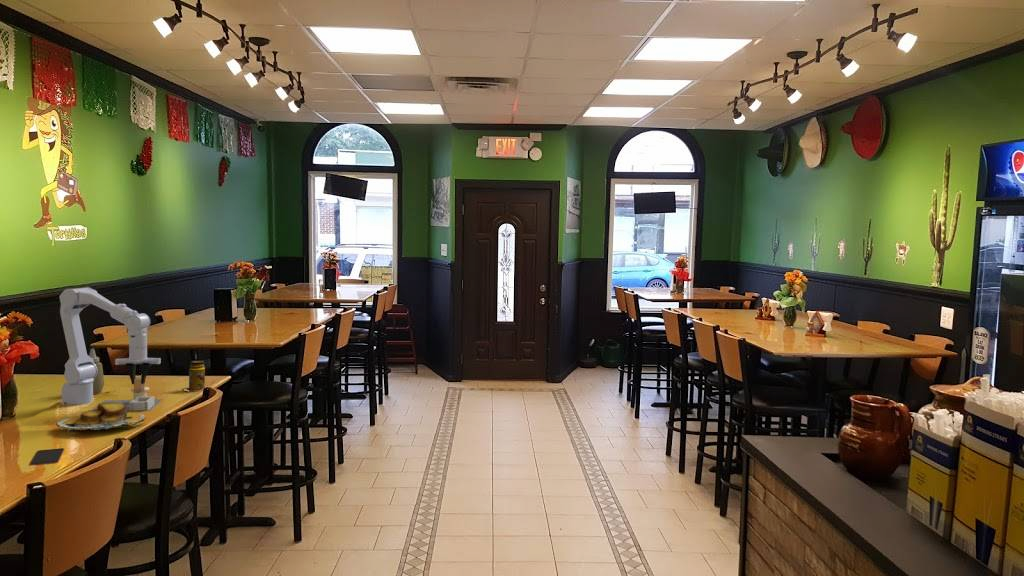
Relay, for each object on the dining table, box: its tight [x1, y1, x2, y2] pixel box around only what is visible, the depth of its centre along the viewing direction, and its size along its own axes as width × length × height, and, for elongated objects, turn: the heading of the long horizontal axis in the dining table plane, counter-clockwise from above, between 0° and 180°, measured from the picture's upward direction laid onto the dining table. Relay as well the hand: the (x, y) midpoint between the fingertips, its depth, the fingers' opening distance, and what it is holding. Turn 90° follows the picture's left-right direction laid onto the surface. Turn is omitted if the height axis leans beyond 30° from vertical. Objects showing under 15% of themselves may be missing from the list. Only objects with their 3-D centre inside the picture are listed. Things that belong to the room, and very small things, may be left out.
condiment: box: [182, 360, 206, 393], centre depth 276 cm, size 7×8×12 cm
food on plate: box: [55, 402, 147, 432], centre depth 221 cm, size 25×25×7 cm
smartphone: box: [28, 447, 65, 466], centre depth 190 cm, size 7×1×14 cm
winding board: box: [91, 386, 164, 412], centre depth 242 cm, size 20×17×6 cm
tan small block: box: [133, 376, 146, 393], centre depth 242 cm, size 2×4×5 cm, turn 15°
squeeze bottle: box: [88, 348, 105, 395], centre depth 263 cm, size 8×8×18 cm
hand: (138, 383), depth 241 cm, fingers closed on tan small block, 2 cm apart
